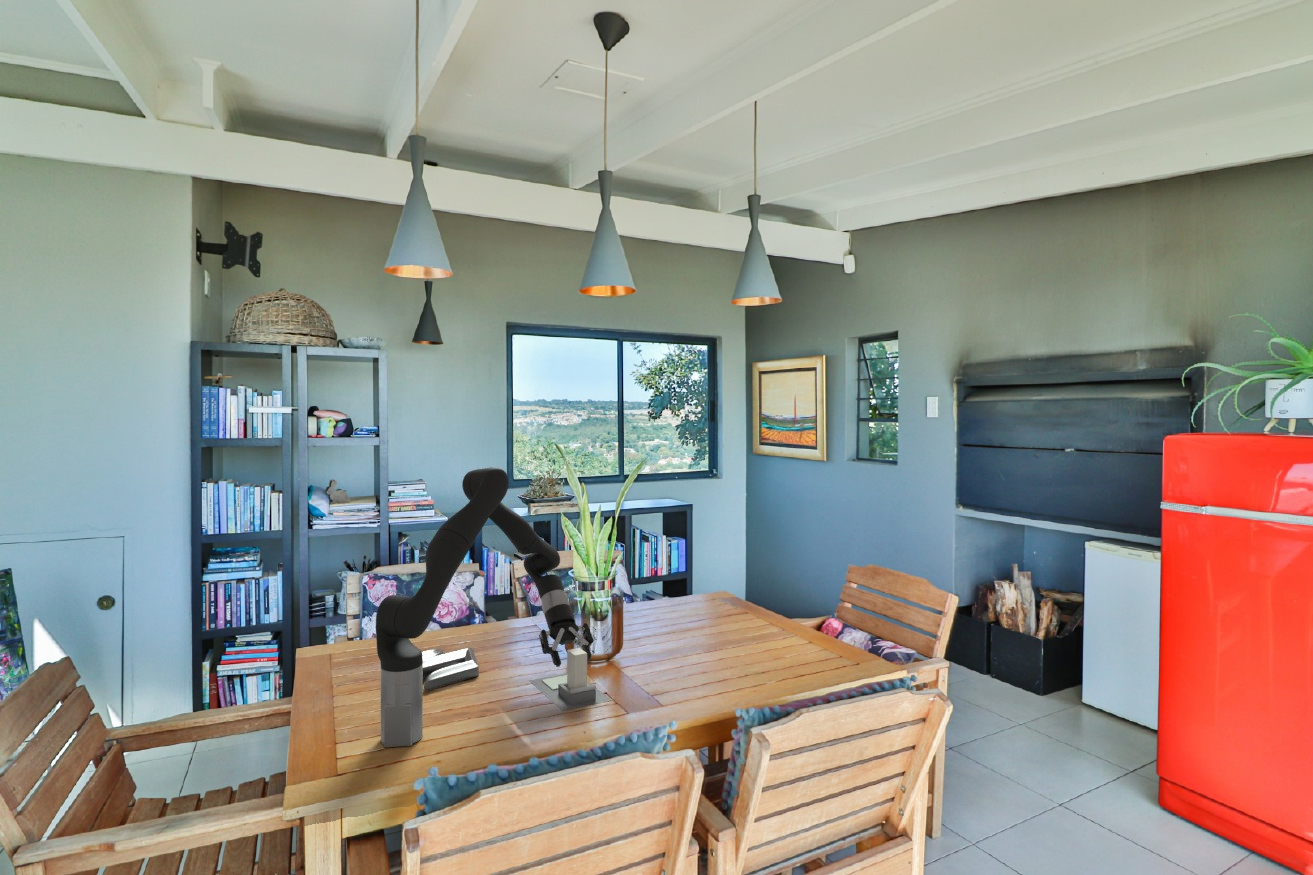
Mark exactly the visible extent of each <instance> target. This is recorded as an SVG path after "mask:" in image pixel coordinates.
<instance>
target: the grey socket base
mask: <svg viewBox="0 0 1313 875" xmlns="http://www.w3.org/2000/svg"><path fill="white" fill-rule="evenodd" d="M528 682H529V683H531V684H532V685H533V686H534V687H536V689H537V690H538V691H540V692H541V693H542V694H543V695H544V696H545V697H546V698H548V700H550V701H551V702H552V703H553V704H554V705H556V707H557V708H559V710H561V711H562V712H566V711H569V710H570V711H571V710H574V709H578V708H583V707H584V708H585V707H588V706H593V705H597V704H601V703H607V702H611V701H613V699H612V698H610V697H609V696H607V695H606V694H605V693H604V692H602V691H600V690H599V689H598V688H597V685H596V684H592V683H590V682H589V681H587V686H585V687H580V688H575V689H570V690H569V689H568V688H567V672H566V673H563V674H562V673H561V674H556V675H552V676H546V677H542V678H541V677H540V678H535V679H530V680H529V681H528Z"/></svg>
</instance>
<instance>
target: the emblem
mask: <svg viewBox="0 0 1313 875" xmlns="http://www.w3.org/2000/svg"><path fill="white" fill-rule="evenodd" d="M421 652H422V655H423V682H424V684H423V688H424V689H423V690H426V691H429V692H430V691H434V690H436V689H439V688H442V687H445V686H449V685H452V684H456V683H459V682H463V681H466V680H469V679H473V678H475V677H479V674H480V673H479V670H480V669H479V664H478V661H477V658H476V655H475V653H474V648H473V647H466V648H462V649H458V650H454V651H448V652H446V653H444V649H442V648H432V649H428V650H424V651H421Z"/></svg>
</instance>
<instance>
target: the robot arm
mask: <svg viewBox="0 0 1313 875" xmlns="http://www.w3.org/2000/svg"><path fill="white" fill-rule="evenodd" d="M509 484H510V480H509V476H508V473H507V472H506V471H505V470H504V469H502V468H500V467H495V466H494V467H485V468H477V469H473V470H472V469H471V470H470V471H468V472H466V474H465V475H464V476H463V479H462V485H461V486H462V490H463V493H464V495H465V497H466V498H467V499H468V500H469V501H468V502H467V504H465V506H464V507H462V508H460V510H458V511H457V512H455V514H453V515H452V516H451V517H450V518H448V519H447V520H446V521H445V522H444V523H443V524H442V525H441V526H440V527H439V528H438V530H437V531H436V532H435V534H434V535H433V538H432V539H431V540H430V542H429V544H428V546H427V547H426V552H425V577H424V579H423V582H422V584H421V585H420V588H418V590H417V591H416V593H415V594H414V595H413V596H408V595H407V596H406V595H397V594H391V595H388V596H386V597H385V598H383V600H381V601H380V603H379V605H378V608H377V610H376V614H375V639H376V653H377V657H378V659H379V661H380V742H381V744H383V748H393V747H394V748H396V747H412V746H413V744H414V743H417V742H418V741H420V740H421V739H422V738H423V734H424V733H423V731H424V730H423V728H424V727H423V726H424V724H423V723H424V722H423V721H424V719H423V717H424V716H423V710H424V709H423V702H424V700H423V696H424V695H423V693H424V692H423V690H424V689H423V688H424V684H423V682H424V681H423V655H422V652H423V651H422V650H421V649H420V648H418V647H417V646H415V644H413V642H411V639H414V640H415V639H418V638H419V637H420V636H421V635H423V634H424V633H425V632H426V630H427V629H428V627H429V625H430V623H431V622H432V620H433V617H434V616H435V614H436V610H437V609H438V607H439V605H440V603H441V601H442V599H443V598H442V597H444V595H445V592H446V590H447V589H448V587H449V584H450V583H451V581H452V579H453V577H454V575H455V574H456V572H457V570H458V569H459V567H460V566H461V564H462V562H463V560H464V559H465V558H466V556H467V554H468V553H469V551H470V549H471V547H472V545H473V544H474V542H475V540H476V538H478V535H479V533H480V532H481V531H482V529H483V527H484V526H485V524H486V523H487V521H488V519H489V520H490V521H492V522H493V523H494V524H495V525H496V526H497V527H498V528H499V529H500V531H502V532H503V534H504V535H505V536H506V537H507V539H508V540H509V541H510V542H511V544H512V545H513V546H514V547H515V549H516V550H517V551H518V553H520V554H521V555H524V556H526V555H527V556H526V557H525V558H524V559H523V568H524V570H525V572H526V573H527V575H528V576H529V577H530V578H531V580H532V581H533V583H534V586H535V587H536V590H537V592H538V595H539V599H540V601H541V602H540V603H541V608H542V613H543V615H544V618H545V621H546V625H547V628H548V630H545V629H542V630H540V633H539V634H538V637H539V638H538V639H539V642H540V646H541V650H542V653H543V654H544V655H546V654H549V655H550V656H551V659H552V663H553V665H554V666H556V668H559V667H560V666H561V665H562V660H561V657H560V654H559V651H558V650H557V649H558V646H559V645H560V646H563V645H566V644H568V645H569V644H572V643H573V644H574V645H575V646H578V648H580V649H582V650H583V651H585V652H586V653H587V663H588V662H590V660H591V658H592V653H591V649H590V647H591V646H592V645H593V643H594V642H595V640H594V637H593V635H592V633H591V629H590V628H589V627H590V626H588V623H586V622H585V623H583V624H582V625H577V623H576V620H575V617H574V616H575V615H574V614H573V610H572V607H571V605H570V601H569V599H568V596H567V594H566V591H565V589H564V586H563V584H562V580H561V578H560V577H559V576H558V575H557V574H554V573H553V574H551V573H550V574H547V573H549V572H550V571H552V570H555V569H557V568H558V567H559V566H560V564H561V555H560V553H559V552H558V550H557V549H556V548H555V547H554V546H553V545H551V544H550V543H548V542H547V541H546V540H544V539H543V538H541V537H540V536H539V535H538V534H537V533H536V531H535V530H534V529H533V527H532V526H531V524H530V523H529V522H528V521H527V520H526V519H525V518H524V517H522V516H521V515H520V514H518V513H517V512H515V511H513V509H511V508H509V507H508V506H507V505H505V504H504V503H503V502H502V501H503V499H504V498H505V496H506V495H507V493H508V490H509ZM545 574H546V575H545ZM579 632H580V633H579ZM549 637H550V638H551V639H553V643H552V646H550V643H549Z"/></svg>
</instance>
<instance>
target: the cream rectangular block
mask: <svg viewBox="0 0 1313 875" xmlns="http://www.w3.org/2000/svg"><path fill="white" fill-rule="evenodd" d="M566 654H567V655H566V673H567V688H568V689H569V690H570V689H575V688H580V687H585V686H587V682H588V662H587V653H586V652H585V651H583V650H582V648H581V647H577V648H576V647H575V648H569V649H567V650H566Z"/></svg>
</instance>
